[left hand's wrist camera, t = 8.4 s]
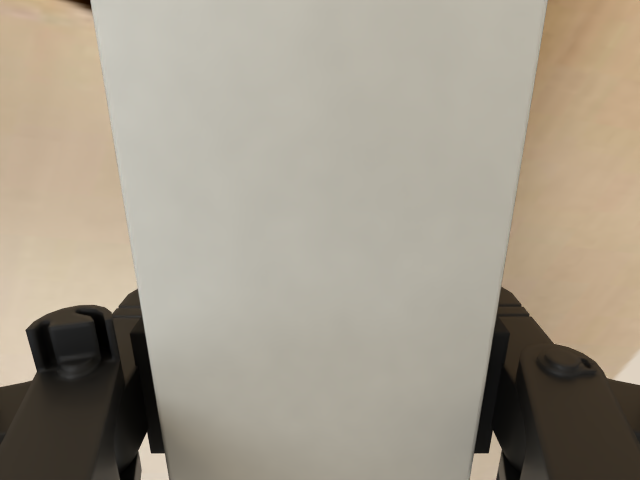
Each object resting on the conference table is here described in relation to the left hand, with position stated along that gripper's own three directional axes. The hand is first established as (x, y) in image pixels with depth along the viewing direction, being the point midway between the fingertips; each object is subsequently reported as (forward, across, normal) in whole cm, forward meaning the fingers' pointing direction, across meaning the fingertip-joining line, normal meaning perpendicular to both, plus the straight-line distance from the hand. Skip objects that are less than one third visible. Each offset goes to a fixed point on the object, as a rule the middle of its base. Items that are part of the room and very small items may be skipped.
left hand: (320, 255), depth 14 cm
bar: (+1, 0, -30) cm, 30 cm away
